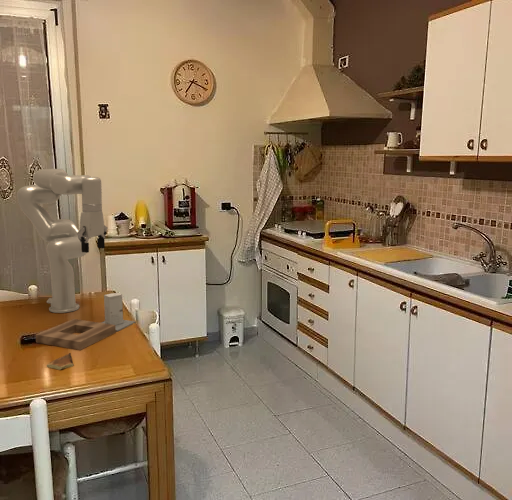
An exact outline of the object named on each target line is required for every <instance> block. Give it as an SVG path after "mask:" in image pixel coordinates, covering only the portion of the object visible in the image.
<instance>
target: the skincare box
mask: <svg viewBox="0 0 512 500" xmlns="http://www.w3.org/2000/svg"><path fill="white" fill-rule="evenodd" d="M103 299H104V300H103V301H104V302H103V304H104V305H103V306H104V321H105V324H112V325H118V324H122V323H123V320H124V313H123V310H124V309H123V307H124V306H123V294H121V293H119V292H115V293H113V292H112V293H108V294H103Z"/></svg>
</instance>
